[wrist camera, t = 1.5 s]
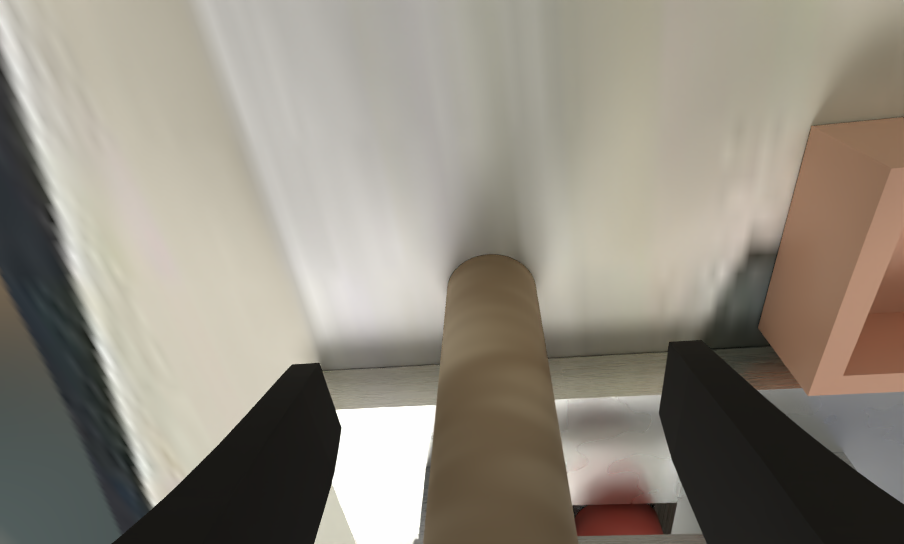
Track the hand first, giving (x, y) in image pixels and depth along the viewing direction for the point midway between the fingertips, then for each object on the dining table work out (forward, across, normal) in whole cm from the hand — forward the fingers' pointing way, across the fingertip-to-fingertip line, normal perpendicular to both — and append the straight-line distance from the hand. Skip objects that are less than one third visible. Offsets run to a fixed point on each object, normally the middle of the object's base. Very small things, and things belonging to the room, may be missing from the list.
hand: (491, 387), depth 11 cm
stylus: (+4, 0, 0) cm, 4 cm away
